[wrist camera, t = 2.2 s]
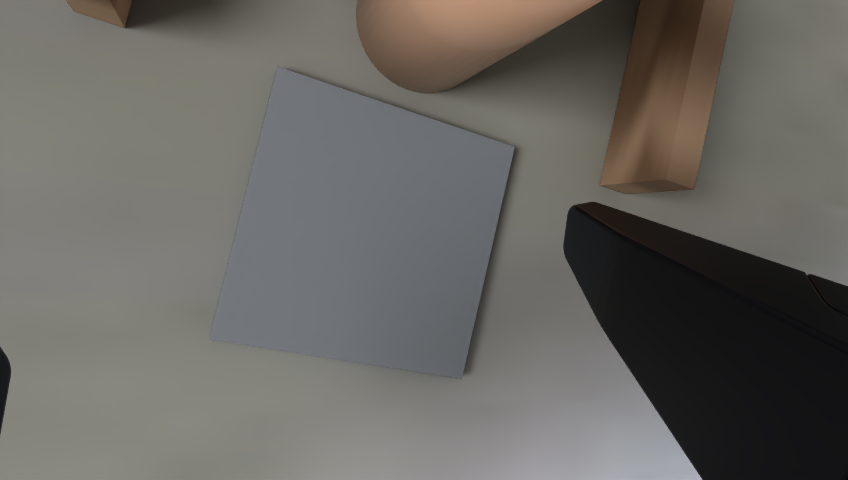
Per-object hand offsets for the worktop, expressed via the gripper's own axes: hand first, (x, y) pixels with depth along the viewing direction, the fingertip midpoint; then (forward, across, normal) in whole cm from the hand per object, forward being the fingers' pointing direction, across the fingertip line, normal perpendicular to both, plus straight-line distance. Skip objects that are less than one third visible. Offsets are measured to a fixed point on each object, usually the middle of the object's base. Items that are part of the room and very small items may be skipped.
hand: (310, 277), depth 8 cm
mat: (+11, -2, +6) cm, 13 cm away
